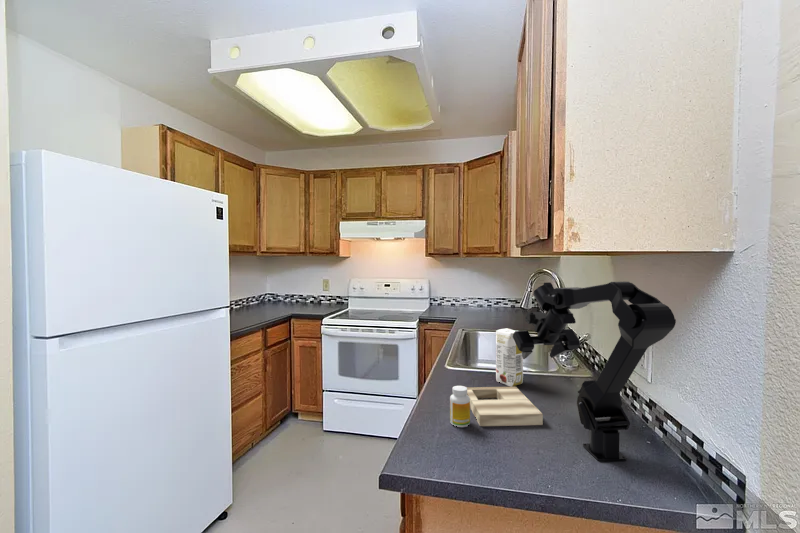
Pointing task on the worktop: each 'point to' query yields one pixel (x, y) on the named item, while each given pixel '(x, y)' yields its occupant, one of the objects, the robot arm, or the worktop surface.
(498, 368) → the juice carton
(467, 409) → the supplement bottle
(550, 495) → the worktop surface
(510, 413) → the socket board
